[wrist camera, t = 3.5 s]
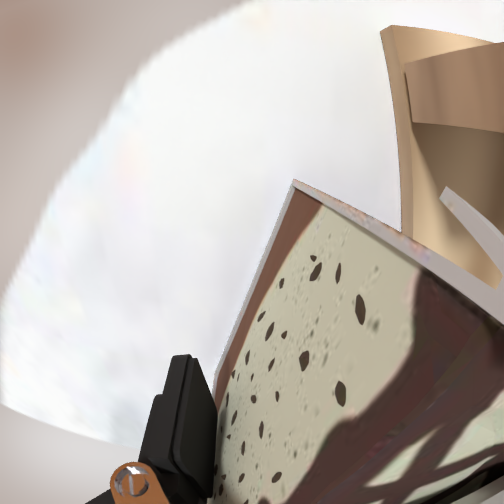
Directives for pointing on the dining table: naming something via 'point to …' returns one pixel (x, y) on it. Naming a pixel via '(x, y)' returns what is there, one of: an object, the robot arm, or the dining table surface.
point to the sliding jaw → (459, 88)
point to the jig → (443, 160)
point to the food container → (361, 365)
